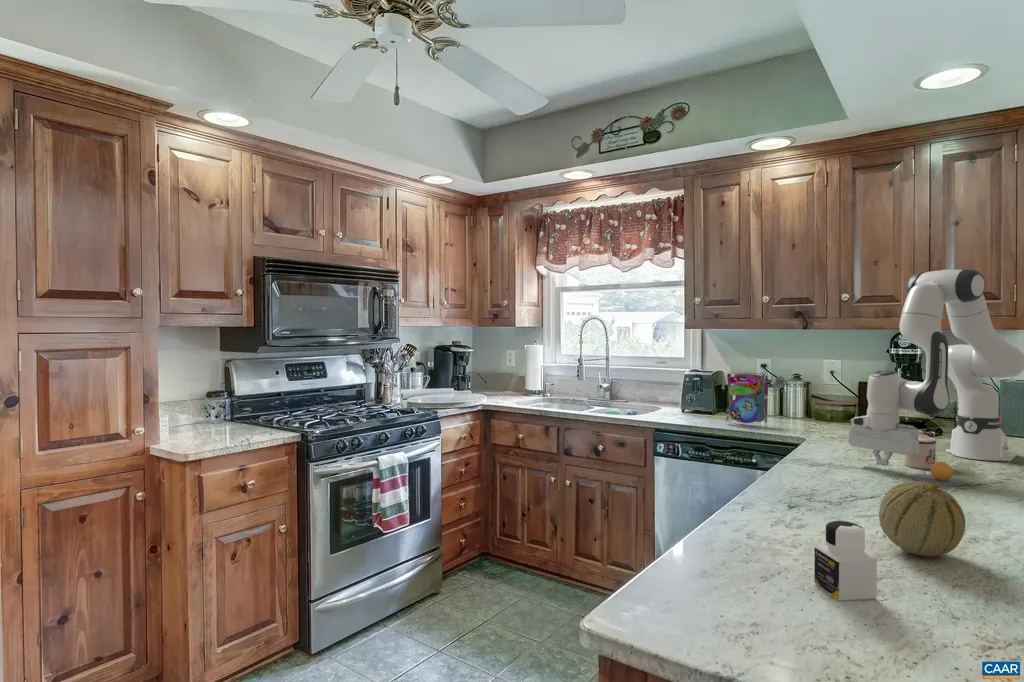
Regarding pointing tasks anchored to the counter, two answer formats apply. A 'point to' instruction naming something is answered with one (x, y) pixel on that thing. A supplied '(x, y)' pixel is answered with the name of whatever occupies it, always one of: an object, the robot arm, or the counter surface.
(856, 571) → the medicine bottle
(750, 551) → the counter surface
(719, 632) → the counter surface
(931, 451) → the teacup with lid
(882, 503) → the cantaloupe
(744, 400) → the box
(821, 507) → the counter surface
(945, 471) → the ball
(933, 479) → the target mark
